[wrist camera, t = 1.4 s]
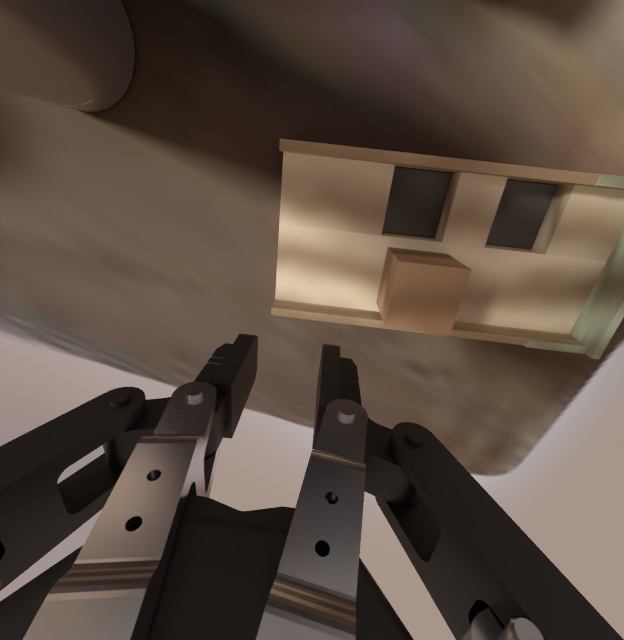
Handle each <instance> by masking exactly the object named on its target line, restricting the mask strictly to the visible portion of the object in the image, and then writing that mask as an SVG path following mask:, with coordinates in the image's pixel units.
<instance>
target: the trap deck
mask: <svg viewBox="0 0 624 640" xmlns="http://www.w3.org/2000/svg"><path fill="white" fill-rule="evenodd" d="M279 150H280V151H282V152H283V169H282V187H281V205H280V223H279V241H278V259H277V277H276V295H275V301H274V303H273V305H272V307H271V315H276V316H284V317H293V318H301V319H309V320H318V321H326V322H334V323H342V324H351V325H359V326H367V327H376V328H384V329H392V330H401V331H409V332H417V333H426V334H434V335H442V336H451V337H459V338H467V339H476V340H484V341H492V342H501V343H509V344H517V345H524V346H525V347H530V348H538V349H546V350H555V351H563V352H571V353H580V354H585V355H586V356H588V357H589V358H591V359H599V358H600V357H601V355H602V353H603V352H604V350H605V348H606V347H607V345H608V343H609V341H610V340H611V338H612V336H613V335H614V333H615V331H616V329H617V328H618V326H619V324H620V323H621V321H622V319H623V317H624V176H616V175H607V174H594V173H585V172H576V171H567V170H558V169H549V168H540V167H531V166H522V165H513V164H504V163H495V162H486V161H477V160H468V159H459V158H450V157H441V156H432V155H423V154H414V153H405V152H396V151H387V150H379V149H370V148H361V147H352V146H343V145H334V144H325V143H316V142H307V141H298V140H289V139H280V144H279ZM395 166H396V167H395ZM397 167H405V168H397ZM406 168H414V169H406ZM415 169H423V170H415ZM424 170H432V171H424ZM433 171H441V172H450V173H452V175H451V174H450V173H441V172H433ZM450 177H451V178H450ZM507 179H512V180H507ZM449 180H450V182H449ZM513 180H521V181H513ZM522 181H530V182H539V183H547V184H539V183H530V182H522ZM448 184H449V186H448ZM548 184H556V185H548ZM447 188H448V190H447ZM446 192H447V193H446ZM445 196H446V197H445ZM444 199H445V201H444ZM443 203H444V205H443ZM442 207H443V208H442ZM441 211H442V212H441ZM440 214H441V216H440ZM439 218H440V220H439ZM438 222H439V223H438ZM437 226H438V227H437ZM436 229H437V231H436ZM384 232H389V233H384ZM393 233H398V234H393ZM435 233H436V235H435ZM401 234H406V235H401ZM410 235H415V236H410ZM419 236H424V237H419ZM427 237H432V238H427ZM434 237H435V238H434ZM488 244H493V245H488ZM496 245H501V246H496ZM505 246H510V247H505ZM388 247H393V248H402V249H410V250H419V251H428V252H436V253H445V254H448V255H450V256H451V257H453V258H455V259H456V260H458V261H459V262H461V263H462V264H464V265H465V266H467V267H468V268H470V269H471V270H472V271H471V274H470V277H469V280H468V283H467V286H466V289H465V292H464V295H463V298H462V301H461V304H460V307H459V310H458V313H457V316H456V319H455V322H454V325H453V328H452V331H451V334H447V333H439V332H430V331H422V330H414V329H405V328H397V327H389V326H384V323H383V320H382V317H381V314H380V311H379V308H378V306H377V303H376V301H377V296H378V291H379V287H380V282H381V277H382V272H383V267H384V262H385V257H386V252H387V248H388ZM514 247H519V248H514ZM522 248H527V249H522Z"/></svg>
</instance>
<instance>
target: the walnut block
mask: <svg viewBox="0 0 624 640" xmlns="http://www.w3.org/2000/svg"><path fill="white" fill-rule="evenodd" d="M471 271H472V270H471V269H470V268H468V267H467V266H465V265H464V264H462V263H461V262H459V261H458V260H456V259H455V258H453V257H451V256H450V255H448V254H445V253H436V252H428V251H419V250H410V249H402V248H393V247H388V248H387V252H386V257H385V262H384V267H383V272H382V277H381V282H380V287H379V291H378V296H377V301H376V303H377V306H378V308H379V311H380V314H381V317H382V320H383V323H384V326H389V327H397V328H405V329H414V330H422V331H430V332H439V333H447V334H451V331H452V328H453V325H454V322H455V319H456V316H457V313H458V310H459V307H460V304H461V301H462V298H463V295H464V292H465V289H466V286H467V283H468V280H469V277H470V274H471Z"/></svg>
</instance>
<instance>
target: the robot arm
mask: <svg viewBox="0 0 624 640" xmlns="http://www.w3.org/2000/svg"><path fill="white" fill-rule="evenodd" d="M134 63H135V47H134V39H133V33H132V29H131V26H130V22H129V18H128V16H127V14H126V11H125V9H124V7H123V5H122V2H121V0H0V89H2V90H6V91H9V92H13V93H17V94H20V95H24V96H28V97H31V98H35V99H39V100H43V101H46V102H50V103H52V104H55V105H59V106H62V107H67V108H73V109H77V110H81V111H85V112H97V111H101V110H104V109H107V108H109V107H111V106H112V105H114V104H115V103H117V102H118V101H119V100H120V99H121V97H122V96H123V95H124V94H125V93H126V91H127V89H128V86H129V84H130V82H131V79H132V75H133V71H134ZM257 351H258V337H257V336H256V335H247V334H239V335H238V337H237V338H236V340H235V342H234V343H233V344H227V343H225V344H224V345H222V346H221V347H219V348H217V349H216V350H215V352H214V353H213V355H212V357H211V358H210V359H209V361H208V363H207V364H206V365H205V366H204V368H203V369H202V371H201V372H200V374H199V375H198V377H197V378H196V379H195V381H194V382H190V383H187V384H184V385H182V386H180V387H178V388H177V389H176V390H175V391H174V392H173V394H172V396H171V397H169V398H161V399H151V400H146V399H145V394H144V392H143V391H142V390H140V389H139V388H135V387H121V388H117V389H113V390H110V391H108V392H106V393H104V394H102V395H100V396H98V397H96V398H94V399H92V400H90V401H88V402H86V403H84V404H82V405H80V406H79V407H77V408H75V409H73V410H71V411H69V412H67V413H65V414H63V415H61V416H59V417H57V418H55V419H53V420H51V421H49V422H47V423H45V424H43V425H41V426H39V427H37V428H36V429H33V430H32V431H30V432H28V433H26V434H24V435H22V436H20V437H18V438H16V439H14V440H12V441H10V442H8V443H6V444H4V445H2V446H0V591H1V590H2V589H3V588H5V587H6V586H7V585H8V584H10V583H11V582H12V581H13V580H14V579H16V578H17V577H18V576H19V575H20V574H22V573H23V572H24V571H26V570H27V569H28V568H29V567H31V566H32V565H33V564H34V563H36V562H37V561H38V560H39V559H40V558H42V557H43V556H44V555H45V554H47V553H48V552H49V551H50V550H52V549H53V548H54V547H55V546H57V545H58V544H59V543H60V542H62V541H63V540H64V539H65V538H66V537H68V536H69V535H70V534H71V533H72V532H74V531H75V530H76V529H78V528H79V527H80V526H81V525H82V524H84V523H85V522H86V521H88V520H89V519H90V518H91V517H93V516H94V515H95V514H96V513H98V512H99V511H100V510H101V509H102V508H103V509H102V511H101V513H100V515H99V517H98V519H97V521H96V523H95V525H94V527H93V529H92V530H91V532H90V534H89V536H88V538H87V540H86V542H85V544H84V545H83V546H81V547H80V548H78V549H77V550H75V551H74V552H73V553H71V554H69V555H68V556H67V557H65V558H64V559H62V560H61V561H59V562H58V563H56V564H55V565H53V566H52V567H50V568H49V569H47V570H46V571H44V572H43V573H42V574H40V575H39V576H37V577H36V578H34V579H33V580H31V581H30V582H28V583H27V584H25V585H24V586H23V587H21V588H20V589H18V590H17V591H15V592H14V593H12V594H11V595H9V596H8V597H6V598H5V599H3V600H2V601H0V640H413V638H412V636H411V635H410V633H409V632H408V630H407V629H406V628H405V626H404V624H403V623H402V621H401V620H400V618H399V617H398V615H397V614H396V612H395V611H394V609H393V608H392V606H391V604H390V603H389V601H388V600H387V598H386V597H385V595H384V594H383V593H382V591H381V589H380V588H379V586H378V585H377V583H376V582H375V580H374V579H373V577H372V576H371V574H370V572H369V571H368V569H367V568H366V566H365V565H364V563H363V562H362V560H361V559H360V558H359V553H360V540H361V528H362V515H363V502H364V491H365V492H368V493H370V494H372V495H374V496H375V498H376V501H377V503H378V505H379V507H380V508H381V510H382V512H383V514H384V515H385V517H386V519H387V521H388V522H389V524H390V526H391V528H392V529H393V531H394V532H395V534H396V536H397V538H398V539H399V541H400V543H401V545H402V547H403V548H404V550H405V552H406V554H407V555H408V557H409V559H410V560H411V562H412V564H413V566H414V567H415V569H416V571H417V573H418V574H419V576H420V578H421V579H422V581H423V583H424V585H425V586H426V588H427V590H428V592H429V593H430V595H431V597H432V599H433V600H434V602H435V604H436V606H437V607H438V609H439V611H440V613H441V614H442V616H443V618H444V619H445V621H446V623H447V625H448V626H449V628H450V630H451V632H452V633H453V635H454V637H455V639H456V640H623V638H622V637H621V636H620V635H619V634H618V633H617V632H616V631H615V630H614V629H613V628H612V627H611V626H610V624H609V623H608V622H607V621H606V620H605V619H604V618H603V617H602V616H601V615H600V614H599V613H598V612H597V611H596V609H594V607H593V606H592V605H591V604H590V603H589V602H588V601H587V600H586V599H585V597H584V596H583V595H582V594H581V593H580V592H579V591H578V590H577V589H576V588H575V587H574V586H573V585H572V584H571V582H570V581H569V580H568V579H567V578H566V577H565V576H564V575H563V574H562V573H561V572H560V571H559V569H558V568H557V567H556V566H555V565H554V564H553V563H552V562H551V561H550V560H549V559H548V558H547V557H546V555H545V554H544V553H543V552H542V551H541V550H540V549H539V548H538V547H537V546H536V545H535V544H534V543H533V541H532V540H530V538H529V537H528V536H527V535H526V534H525V533H524V532H523V531H522V530H521V529H520V527H519V526H518V525H517V524H516V523H515V522H514V521H513V520H512V519H511V518H510V517H509V516H508V515H507V514H506V512H505V511H504V510H503V509H502V508H501V507H500V506H499V505H498V504H497V503H496V502H495V500H493V498H492V497H491V496H490V495H489V494H488V493H487V492H486V491H485V490H484V489H483V488H482V486H480V484H479V483H478V482H477V481H476V480H475V479H474V478H473V477H472V476H471V475H470V473H469V472H468V471H467V470H466V469H465V468H464V467H463V466H462V465H461V464H460V463H459V462H458V461H457V459H456V458H455V457H454V456H453V455H452V454H451V453H450V452H449V451H448V450H447V449H446V448H445V447H444V445H443V444H442V443H441V442H440V441H439V440H438V439H437V438H436V437H435V436H434V435H433V434H432V433H431V432H430V431H429V430H428V429H426V428H425V427H423V426H421V425H418V424H415V423H410V422H403V423H399V424H397V425H396V426H395V427H394V428H393V430H392V429H389V428H386V427H384V426H381V425H379V424H377V423H375V422H373V421H372V420H370V419H369V418H368V415H367V412H366V410H365V409H364V408H363V407H362V405H361V397H360V389H359V382H358V372H357V366H356V365H355V363H354V362H353V361H352V359H349V358H341V357H340V346H337V345H329V344H323V346H322V354H321V361H320V368H319V376H318V385H317V396H316V409H315V422H314V435H313V448H312V449H314V450H312V453H311V456H310V459H309V463H308V466H307V470H306V473H305V477H304V480H303V484H302V487H301V491H300V494H299V498H298V501H297V505H296V508H289V507H276V508H268V509H261V510H253V511H238V510H236V509H234V508H231V507H229V506H227V505H224V504H222V503H220V502H217V501H215V500H213V499H210V498H209V496H210V491H211V487H212V482H213V478H214V473H215V468H216V463H217V459H218V455H219V445H220V443H221V440H222V438H223V437H224V438H232V436H233V434H234V432H235V429H236V427H237V424H238V422H239V419H240V416H241V414H242V411H243V409H244V406H245V404H246V401H247V399H248V396H249V394H250V391H251V388H252V386H253V383H254V381H255V377H256V372H257ZM101 445H103V448H104V452H105V453H104V454H102V455H101V456H100V457H98V458H96V459H95V460H93V461H92V462H90V463H89V464H87V465H86V466H84V467H83V468H81V469H80V470H78V471H77V472H75V473H74V474H72V475H71V476H69V477H68V478H66V479H65V480H63V481H62V482H60V483H59V484H57V481H58V478H59V476H60V475H61V473H62V472H63V471H64V470H65V469H66V468H67V467H69V466H70V465H72V464H73V463H75V462H76V461H78V460H80V459H81V458H83V457H84V456H86V455H87V454H89V453H90V452H92V451H94V450H95V449H97V448H98V447H100V446H101Z"/></svg>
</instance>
